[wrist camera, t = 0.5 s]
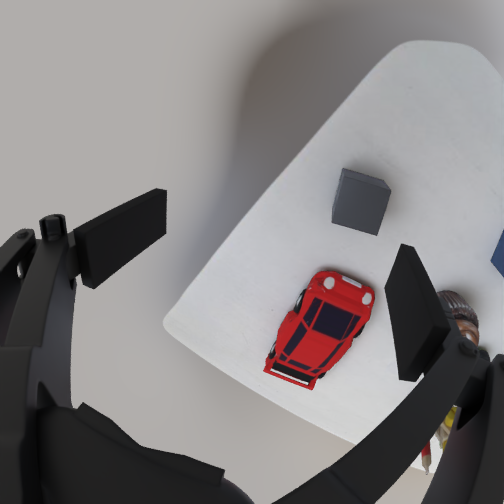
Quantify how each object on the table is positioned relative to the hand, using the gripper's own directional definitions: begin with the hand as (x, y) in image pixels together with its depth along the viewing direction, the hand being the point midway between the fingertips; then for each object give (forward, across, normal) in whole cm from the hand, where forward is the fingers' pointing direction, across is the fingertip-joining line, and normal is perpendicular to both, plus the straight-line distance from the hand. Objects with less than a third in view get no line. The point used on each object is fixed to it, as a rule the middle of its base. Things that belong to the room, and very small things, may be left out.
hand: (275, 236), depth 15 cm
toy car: (+20, +6, -21) cm, 29 cm away
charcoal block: (+19, +6, -1) cm, 20 cm away
